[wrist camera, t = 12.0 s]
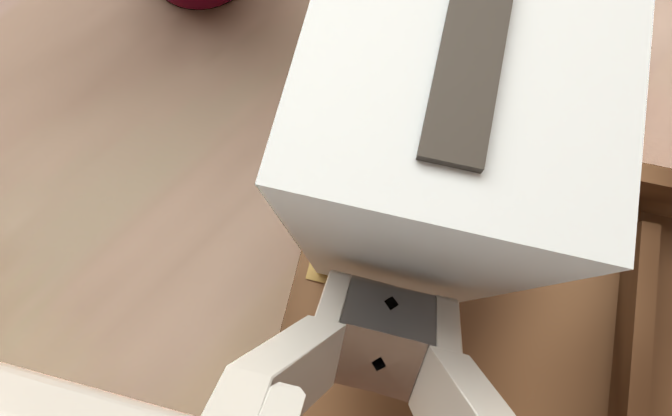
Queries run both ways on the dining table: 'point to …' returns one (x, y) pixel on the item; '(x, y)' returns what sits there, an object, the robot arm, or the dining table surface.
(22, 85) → the dining table surface
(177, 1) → the cup
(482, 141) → the key one
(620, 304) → the rail board
